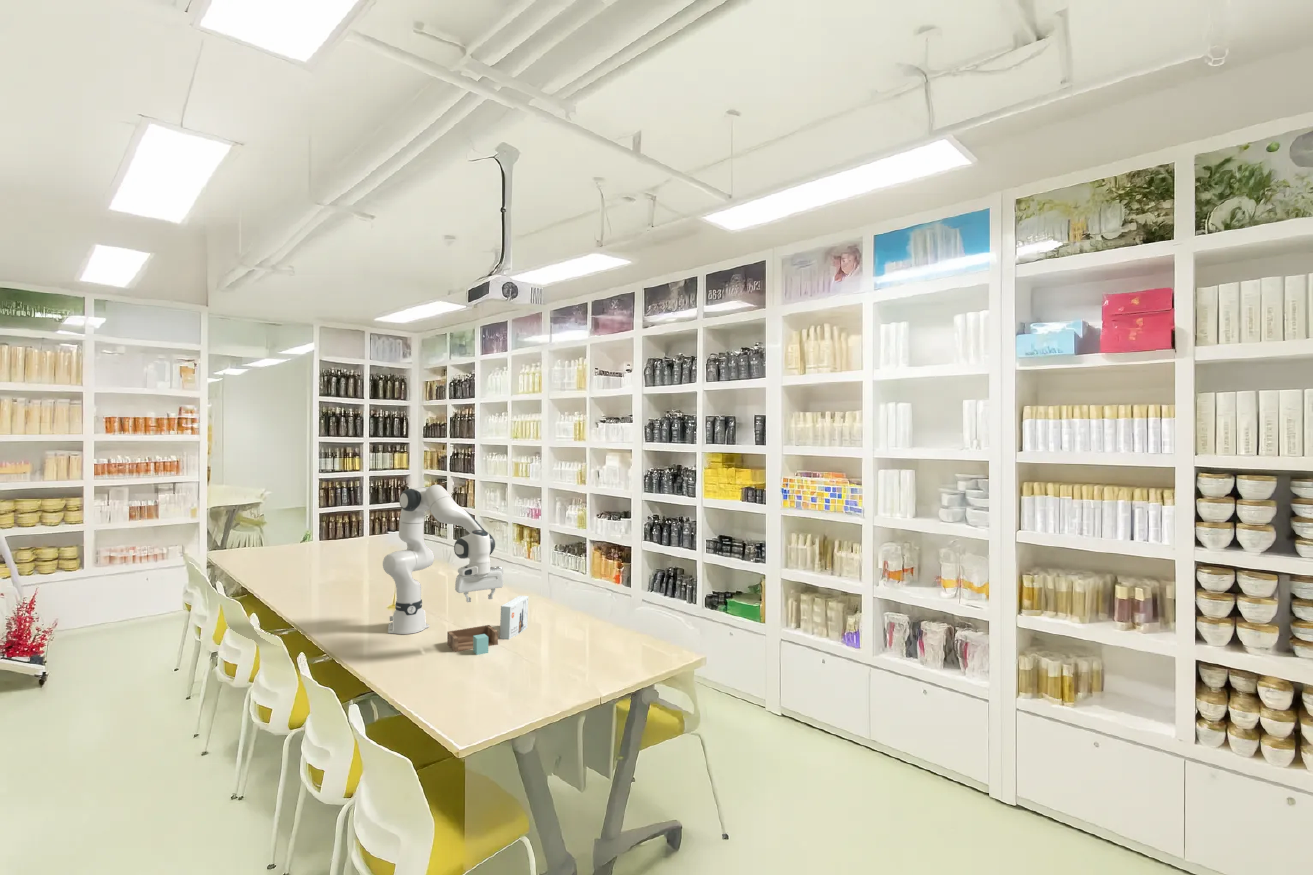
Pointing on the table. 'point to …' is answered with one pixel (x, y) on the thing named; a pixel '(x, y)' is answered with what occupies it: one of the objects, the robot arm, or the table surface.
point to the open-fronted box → (470, 637)
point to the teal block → (480, 644)
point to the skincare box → (514, 617)
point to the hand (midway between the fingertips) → (479, 600)
